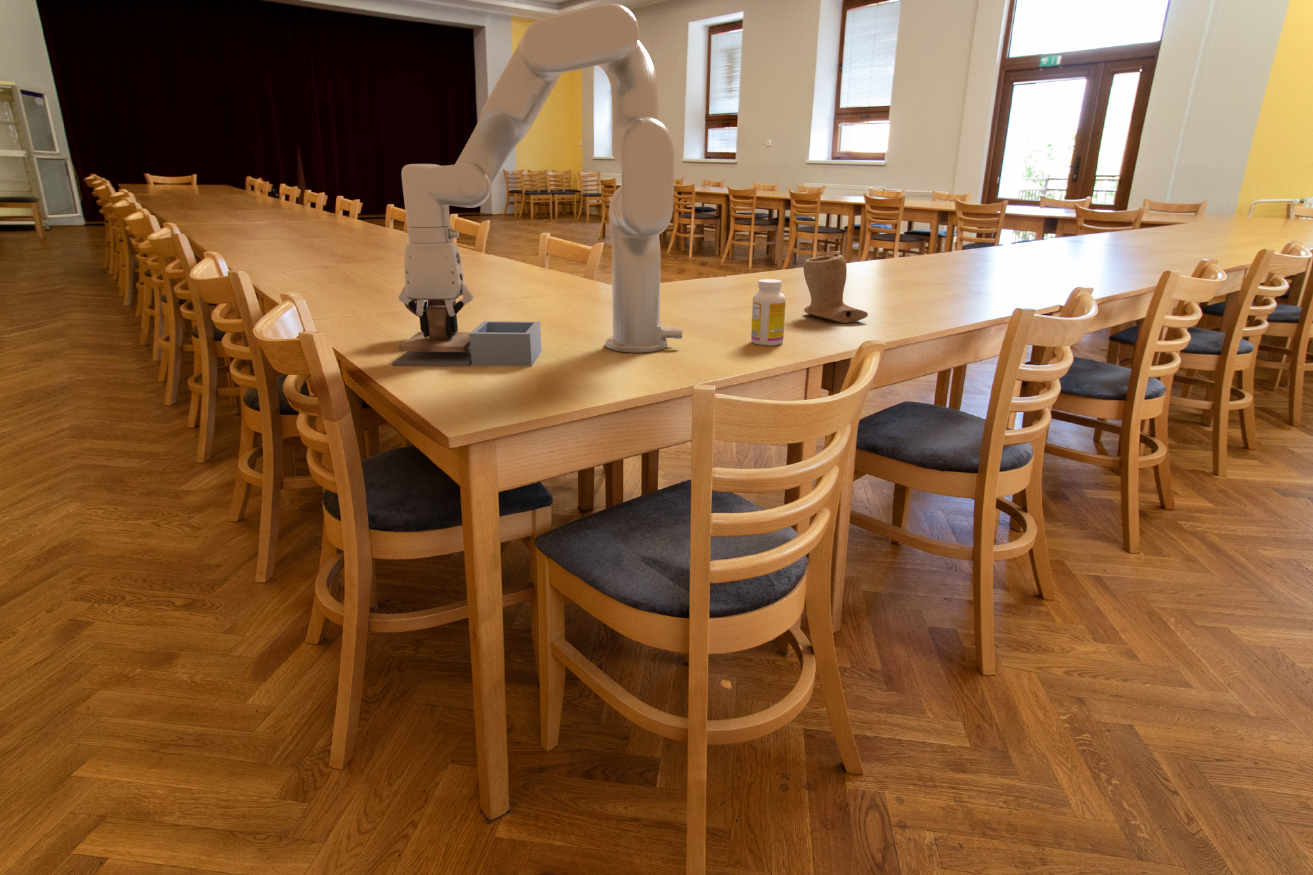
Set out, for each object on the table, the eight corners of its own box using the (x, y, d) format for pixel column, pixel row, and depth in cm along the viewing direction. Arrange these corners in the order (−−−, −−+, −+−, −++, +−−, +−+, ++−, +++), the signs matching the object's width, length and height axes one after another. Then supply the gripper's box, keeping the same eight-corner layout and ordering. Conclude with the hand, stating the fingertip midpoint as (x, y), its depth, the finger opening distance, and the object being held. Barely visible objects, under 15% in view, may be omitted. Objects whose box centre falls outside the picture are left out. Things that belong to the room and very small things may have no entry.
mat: (486, 348, 148) (486, 345, 148) (468, 366, 135) (468, 363, 135) (417, 347, 149) (416, 344, 148) (392, 365, 136) (392, 362, 135)
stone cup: (790, 314, 183) (795, 252, 178) (831, 311, 187) (837, 250, 182) (825, 327, 170) (830, 260, 164) (868, 323, 174) (875, 258, 168)
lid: (479, 337, 147) (476, 302, 144) (463, 352, 135) (460, 314, 133) (419, 336, 147) (415, 301, 144) (398, 351, 136) (394, 313, 133)
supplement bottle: (786, 341, 156) (791, 279, 151) (777, 348, 150) (782, 284, 145) (756, 338, 158) (759, 277, 154) (746, 344, 153) (749, 281, 148)
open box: (541, 351, 146) (540, 321, 144) (531, 366, 136) (529, 334, 134) (486, 351, 146) (483, 321, 144) (471, 365, 136) (469, 333, 134)
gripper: (480, 234, 138) (488, 332, 144) (391, 234, 138) (403, 331, 144) (470, 238, 131) (479, 340, 137) (376, 238, 131) (389, 340, 137)
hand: (439, 334), depth 141 cm, fingers closed on lid, 3 cm apart
